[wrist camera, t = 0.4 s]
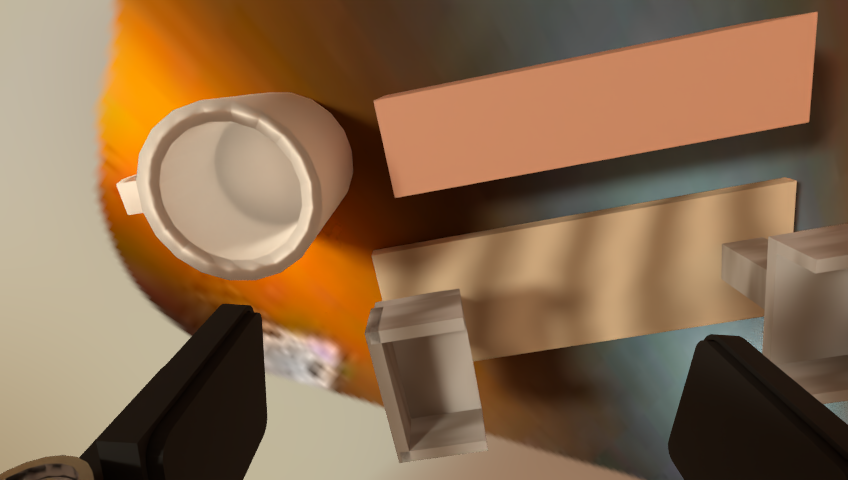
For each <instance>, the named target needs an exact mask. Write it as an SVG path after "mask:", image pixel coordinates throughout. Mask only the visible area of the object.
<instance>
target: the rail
mask: <svg viewBox="0 0 848 480" xmlns="http://www.w3.org/2000/svg"><path fill="white" fill-rule="evenodd" d="M817 15H818V12H813V13H807V14H800V15H794V16H788V17H781V18H775V19H769V20H762V21H756V22H749V23H743V24H738V25H733V26H728V27H723V28H718V29H713V30H708V31H703V32H698V33H693V34H688V35H683V36H678V37H673V38H668V39H663V40H658V41H653V42H648V43H643V44H639V45H634V46H629V47H624V48H619V49H614V50H609V51H604V52H599V53H594V54H589V55H584V56H579V57H574V58H569V59H564V60H559V61H554V62H549V63H544V64H539V65H534V66H529V67H524V68H519V69H514V70H509V71H505V72H500V73H495V74H490V75H485V76H480V77H475V78H470V79H465V80H460V81H455V82H450V83H445V84H440V85H435V86H430V87H425V88H420V89H415V90H410V91H405V92H400V93H395V94H390V95H385V96H383V97H381V98H379V99H377V100H375V101H374V105H375V109H376V114H377V119H378V123H379V128H380V132H381V137H382V141H383V146H384V151H385V155H386V160H387V164H388V169H389V173H390V178H391V183H392V187H393V192H394V196H395V198H398V197H403V196H409V195H414V194H420V193H425V192H431V191H436V190H442V189H447V188H453V187H458V186H463V185H469V184H474V183H480V182H485V181H491V180H496V179H502V178H507V177H513V176H518V175H523V174H529V173H534V172H540V171H545V170H551V169H556V168H562V167H567V166H573V165H578V164H583V163H589V162H594V161H600V160H605V159H611V158H616V157H622V156H627V155H633V154H638V153H643V152H649V151H654V150H660V149H665V148H671V147H676V146H682V145H687V144H693V143H698V142H703V141H709V140H714V139H720V138H725V137H731V136H736V135H742V134H747V133H753V132H758V131H763V130H769V129H774V128H780V127H785V126H791V125H796V124H802V123H807V122H809V117H810V104H811V91H812V79H813V66H814V53H815V40H816V28H817Z"/></svg>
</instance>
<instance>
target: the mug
mask: <svg viewBox="0 0 848 480" xmlns="http://www.w3.org/2000/svg"><path fill="white" fill-rule="evenodd" d="M352 175H353V158H352V150H351V147H350V144H349V142H348V139H347V136H346V134H345V131H344V129H343V128H342V127H341V126H340V124H339V123H338V122H337V120H336V119H335V118H334V116H333V115H332V114H331V113H330V112H329V111H327V110H326V109H325V108H323V107H322V106H320V105H319V104H318V103H316V102H315V101H313V100H312V99H309V98H306V97H303V96H300V95H297V94H294V93H291V92H270V93H260V94H251V95H243V96H234V97H225V98H216V99H208V100H200V101H197V102H195V103H192V104H189V105H186V106H184V107H181V108H178V109H175V110H173V111H172V112H171V113H169V114H168V115H167V116H166V117H165V118H164V119H163V120H161V121H160V122H159V123H158V124H157V125H156V126H155V127H154V128H152V130H151V132H150V134H149V136H148V138H147V139H146V141H145V143H144V145H143V147H142V149H141V151H140V153H139V160H138V169H137V174H136V175H133V176H130V177H128V178H125V179H122V180H121V181H120V182H119V183H117V184H116V185H117V188H118V190H119V193H120V196H121V198H122V201H123V203H124V206H125V209H126V211H127V214H128V215H132V214H138V213H144V215H145V216H146V218H147V220H148V222H149V224H150V226H151V227H152V229H153V231H154V233H155V235H156V236H157V237H158V238H159V239H160V240H161V241H162V242H163V244H164V245H165V246H166V247H167V248H168V249H169V250H170V251H171V252H172V253H173V254H174V255H175V256H176V257H177V258H179V259H181V260H182V261H184V262H186V263H187V264H189V265H190V266H192V267H194V268H195V269H197V270H199V271H200V272H203V273H206V274H210V275H213V276H216V277H220V278H223V279H227V280H258V279H261V278H264V277H268V276H271V275H274V274H277V273H281V272H282V271H283V270H285V269H286V268H288V267H289V266H290V265H292V264H293V263H294V262H296V261H297V260H299V259H300V258H301V257H302V256H303V255H304V253H305V252H306V250H307V249H308V248H309V246H310V245H311V243H312V242H313V241H314V239H315V238H316V236H317V235H318V234H319V232H320V231H321V229H322V228H323V227H324V225H325V224H326V222H327V221H328V220H329V218H330V217H331V215H332V214H333V213H334V211H335V210H336V208H337V207H338V205H339V204H340V202H341V201H342V200H343V198H344V197H345V195H346V194H347V192H348V190H349V186H350V182H351V179H352Z"/></svg>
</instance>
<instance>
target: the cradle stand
mask: <svg viewBox="0 0 848 480" xmlns="http://www.w3.org/2000/svg"><path fill="white" fill-rule="evenodd" d="M796 185H797V181H795V180H792V179H789V178H779V179H774V180H768V181H762V182H757V183H751V184H746V185H740V186H734V187H729V188H723V189H717V190H712V191H706V192H700V193H695V194H689V195H683V196H678V197H672V198H666V199H661V200H655V201H649V202H644V203H638V204H632V205H627V206H621V207H615V208H610V209H604V210H599V211H593V212H587V213H582V214H576V215H570V216H565V217H559V218H553V219H548V220H542V221H536V222H531V223H525V224H519V225H514V226H508V227H502V228H497V229H491V230H485V231H480V232H474V233H468V234H463V235H457V236H452V237H446V238H440V239H435V240H429V241H423V242H418V243H412V244H406V245H401V246H395V247H389V248H384V249H378V250H373V253H372V260H373V264H374V268H375V272H376V276H377V280H378V284H379V288H380V292H381V296H382V300H383V301H381V302H376V303H375V307H374V308H373V309H371V311H370V315H369V319H368V323H367V327H366V330H365V336H366V340H367V344H368V348H369V351H370V355H371V359H372V362H373V366H374V370H375V374H376V377H377V381H378V385H379V389H380V392H381V396H382V400H383V403H384V407H385V411H386V414H387V418H388V422H389V425H390V429H391V433H392V437H393V441H394V444H395V448H396V452H397V456H398V459H399V462H400V463H402V462H409V461H416V460H423V459H431V458H438V457H445V456H452V455H460V454H466V453H474V452H481V451H488V448H487V441H486V434H485V427H484V420H483V413H482V407H481V402H480V397H479V391H478V386H477V380H476V375H475V370H474V364H473V361H478V360H485V359H491V358H498V357H504V356H511V355H517V354H524V353H530V352H536V351H543V350H549V349H556V348H562V347H569V346H575V345H582V344H588V343H595V342H601V341H608V340H614V339H620V338H627V337H633V336H640V335H646V334H653V333H659V332H666V331H672V330H679V329H685V328H691V327H698V326H704V325H711V324H717V323H724V322H730V321H737V320H743V319H750V318H756V317H763V316H764V332H763V351H762V354H763V355H764V356H765V357H767V358H768V359H769V360H770V361H771V362H773V363H774V364H775V365H776V366H777V367H779V368H780V369H781V370H782V371H783V372H785V373H786V374H787V375H788V376H789V377H791V378H792V379H793V380H794V381H796V382H797V383H798V384H799V385H800V386H802V387H803V388H804V389H805V390H806V391H808V392H809V393H810V394H811V395H812V396H814V397H815V398H816V399H817V400H818V401H820V402H821V403H822V404H826V403H833V402H840V401H848V223H846V224H840V225H834V226H828V227H822V228H817V229H811V230H805V231H799V232H793V229H794V214H795V200H796Z"/></svg>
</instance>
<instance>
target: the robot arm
mask: <svg viewBox="0 0 848 480" xmlns="http://www.w3.org/2000/svg"><path fill="white" fill-rule="evenodd" d="M266 424H267V405H266V387H265V368H264V350H263V332H262V318H261V314H260V313H254V311H253V308H252V307H251V306H250V305H234V304H222V305H221V306H220V307H219V308H218V309H217V310H216V311H215V312H214V313H213V314H212V315H211V316H210V317H209V318H208V320H207V321H206V322H205V323H204V324H203V325H202V326H201V327H200V328H199V329H198V330H197V332H196V333H195V334H194V335H193V336H192V337H191V338H190V339H189V340H188V341H187V342H186V344H185V345H184V346H183V347H182V348H181V349H180V350H179V351H178V352H177V353H176V355H175V356H174V357H173V358H172V359H171V360H170V361H169V362H168V363H167V364H166V365H165V366H164V367H163V368H162V369H160V371H159V372H158V373H157V374H156V375H155V376H154V377H153V378H152V379H151V380H150V381H149V383H148V384H147V385H146V386H145V387H144V388H143V389H142V390H141V391H140V392H139V393H138V394H137V396H136V397H135V398H134V399H133V400H132V401H131V402H130V403H129V404H128V405H127V406H126V407H125V409H124V410H123V411H122V412H121V413H120V414H119V415H118V416H117V417H116V418H115V419H114V420H113V422H112V423H111V424H110V425H109V426H108V427H107V428H106V429H105V430H104V431H103V433H101V435H100V436H99V437H98V438H97V439H96V440H95V441H94V442H93V443H92V445H91V446H90V447H89V448H88V449H87V450H86V451H85V452H84V453H83V454H82V455H81V456H80V457H79V458H78V457H73V456H66V455H60V456H50V457H44V458H40V459H36V460H33V461H29V462H26V463H23V464H21V465H19V466H16V467H14V468H12V469H9V470H7V471H5V472H3V473H2V474H0V480H243V479H244V476H245V474H246V472H247V470H248V468H249V466H250V464H251V462H252V459H253V457H254V455H255V453H256V451H257V449H258V446H259V444H260V442H261V440H262V438H263V435H264V433H265V429H266ZM668 449H669V454H670V457H671V459H672V461H673V463H674V464H675V466H676V467H677V469H678V471H679V472H680V474H681V475H682V477H683V478H684V480H848V425H847V424H846V423H845V422H844V421H842V420H841V419H840V418H839V417H838V416H836V415H835V414H834V413H833V412H832V411H830V410H829V409H828V408H827V407H826V406H824V405H823V404H822V403H821V402H820V401H818V400H817V399H816V398H815V397H814V396H812V395H811V394H810V393H809V392H808V391H806V390H805V389H804V388H803V387H802V386H800V385H799V384H798V383H797V382H796V381H794V380H793V379H792V378H791V377H789V376H788V375H787V374H786V373H785V372H783V371H782V370H781V369H780V368H779V367H777V366H776V365H775V364H774V363H773V362H771V361H770V360H769V359H768V358H767V357H765V356H764V355H763V354H762V353H761V352H759V351H758V350H757V349H756V348H755V347H753V346H752V345H751V344H750V343H749V342H747V341H746V340H745V339H744V338H742V337H740V336H730V335H714V334H711V335H708V336H707V337H706V338H705V339H704V341H700V342H699V343H698V344H697V346H696V348H695V352H694V355H693V359H692V362H691V366H690V369H689V372H688V376H687V379H686V383H685V386H684V390H683V393H682V396H681V400H680V403H679V407H678V410H677V414H676V417H675V421H674V424H673V427H672V431H671V434H670V438H669V442H668Z"/></svg>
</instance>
